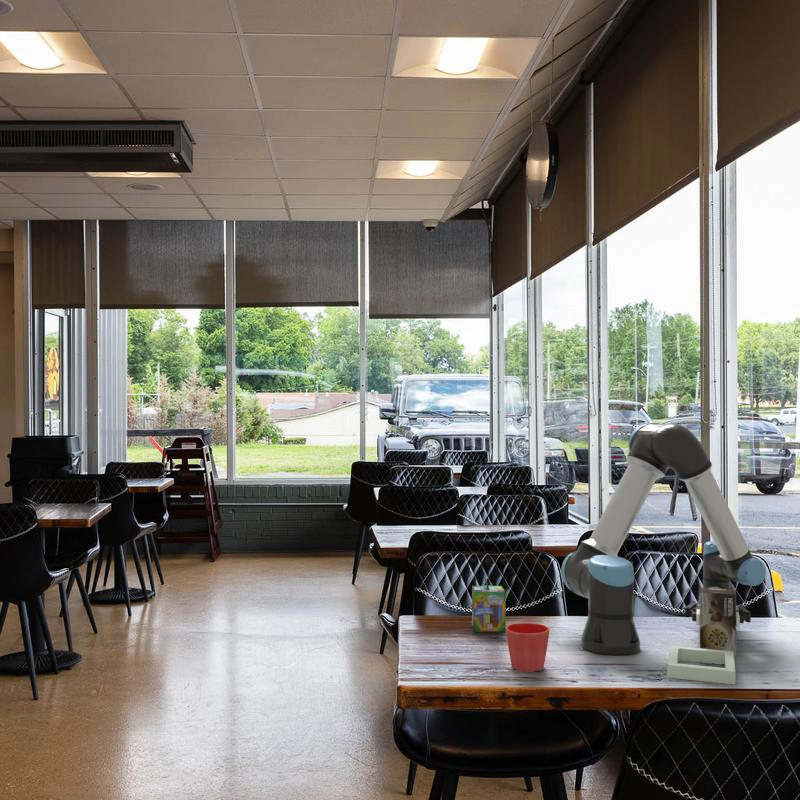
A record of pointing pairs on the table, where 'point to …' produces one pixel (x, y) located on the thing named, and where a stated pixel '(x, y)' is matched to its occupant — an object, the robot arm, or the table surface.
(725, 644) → the coffee box
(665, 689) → the table surface
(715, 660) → the sage collar
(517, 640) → the flower pot
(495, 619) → the chalk box
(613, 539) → the robot arm
